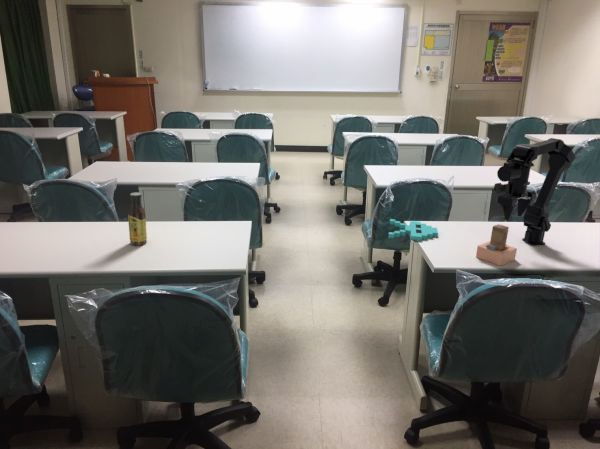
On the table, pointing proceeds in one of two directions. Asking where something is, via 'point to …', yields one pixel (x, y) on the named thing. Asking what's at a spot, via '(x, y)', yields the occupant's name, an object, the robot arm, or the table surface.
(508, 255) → the box
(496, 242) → the walnut stick
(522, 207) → the robot arm
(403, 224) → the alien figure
